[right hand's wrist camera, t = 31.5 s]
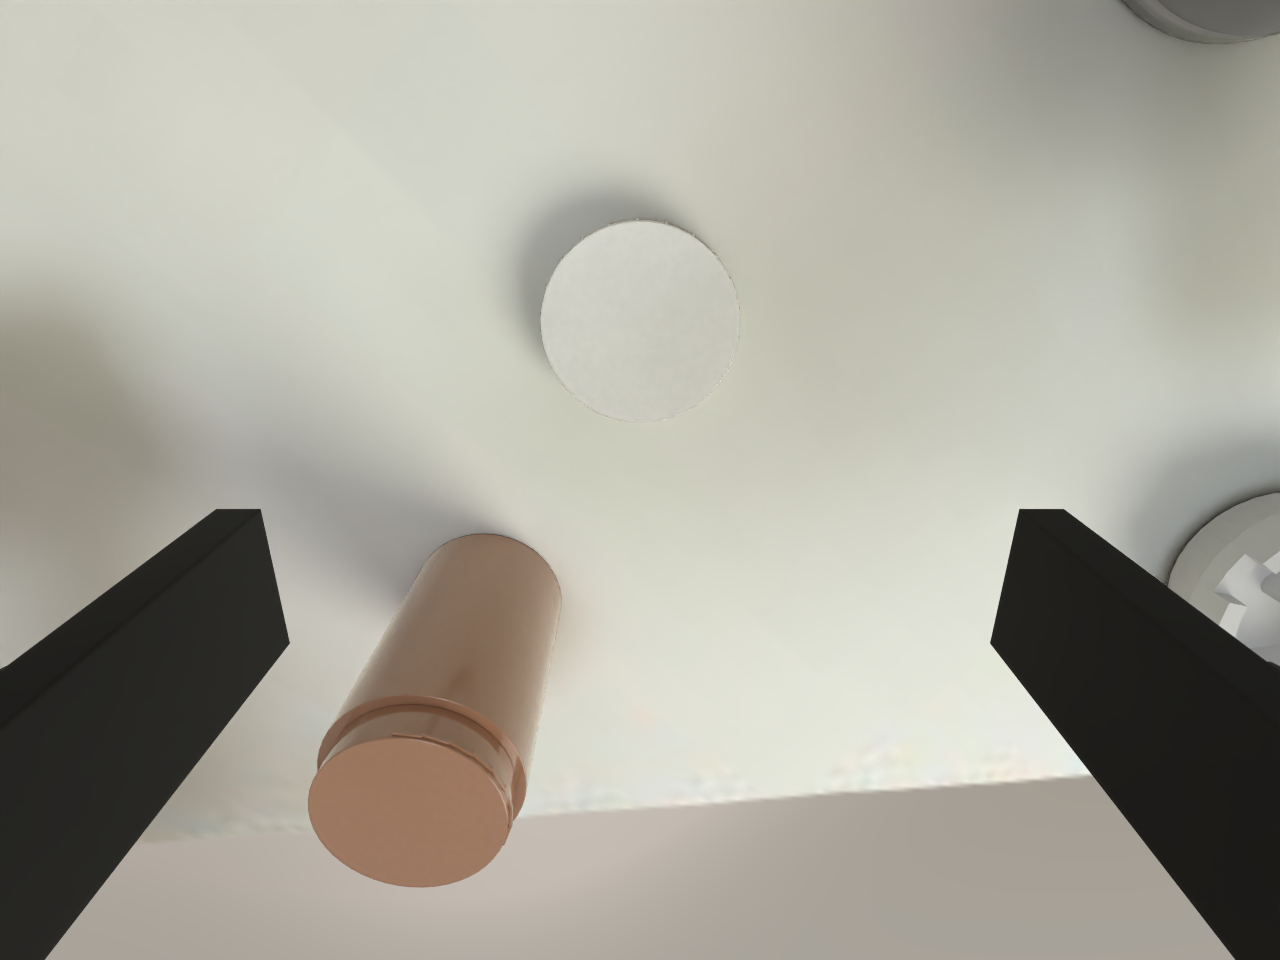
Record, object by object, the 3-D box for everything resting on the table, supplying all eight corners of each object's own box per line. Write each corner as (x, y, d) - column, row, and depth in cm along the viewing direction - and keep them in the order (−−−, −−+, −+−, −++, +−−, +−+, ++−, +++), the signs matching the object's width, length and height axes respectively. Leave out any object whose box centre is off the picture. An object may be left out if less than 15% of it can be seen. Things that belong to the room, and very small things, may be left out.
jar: (557, 663, 46) (515, 902, 31) (418, 652, 46) (305, 888, 30) (565, 540, 43) (523, 738, 27) (415, 527, 42) (286, 720, 27)
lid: (525, 238, 36) (517, 240, 34) (723, 201, 36) (728, 202, 34) (566, 424, 40) (562, 437, 38) (746, 395, 39) (752, 406, 37)
